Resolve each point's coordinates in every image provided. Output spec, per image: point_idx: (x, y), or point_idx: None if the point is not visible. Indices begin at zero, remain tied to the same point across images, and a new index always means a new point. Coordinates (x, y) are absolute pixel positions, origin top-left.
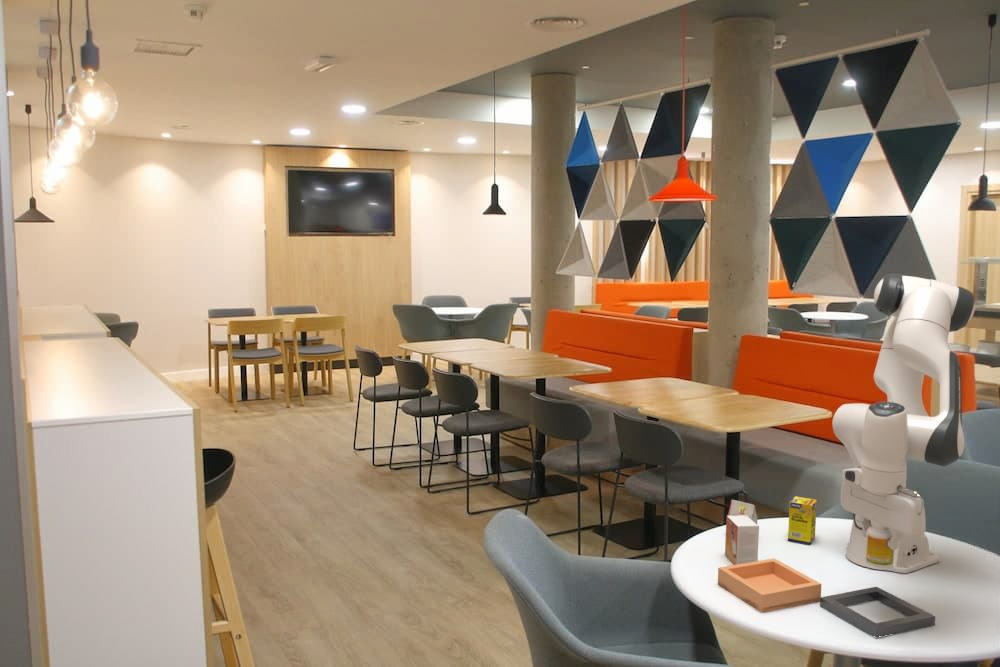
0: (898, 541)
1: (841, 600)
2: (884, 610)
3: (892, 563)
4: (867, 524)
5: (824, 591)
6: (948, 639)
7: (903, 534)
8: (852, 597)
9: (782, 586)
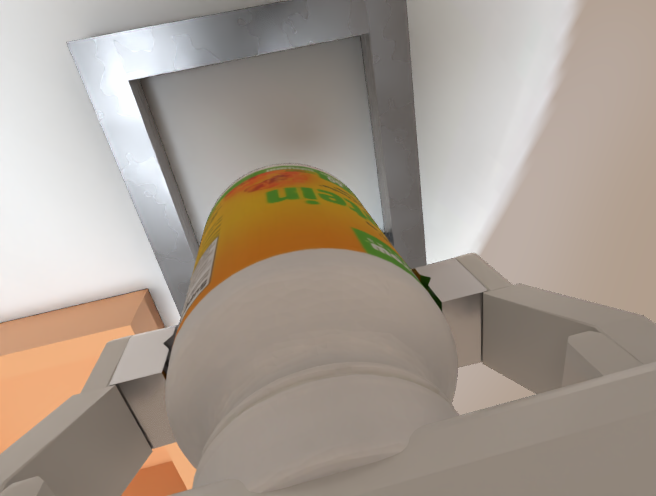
0: (508, 283)
1: (195, 255)
2: (239, 106)
3: (349, 189)
4: (87, 458)
5: (55, 240)
6: (490, 20)
7: (642, 321)
8: (178, 210)
9: (53, 378)
